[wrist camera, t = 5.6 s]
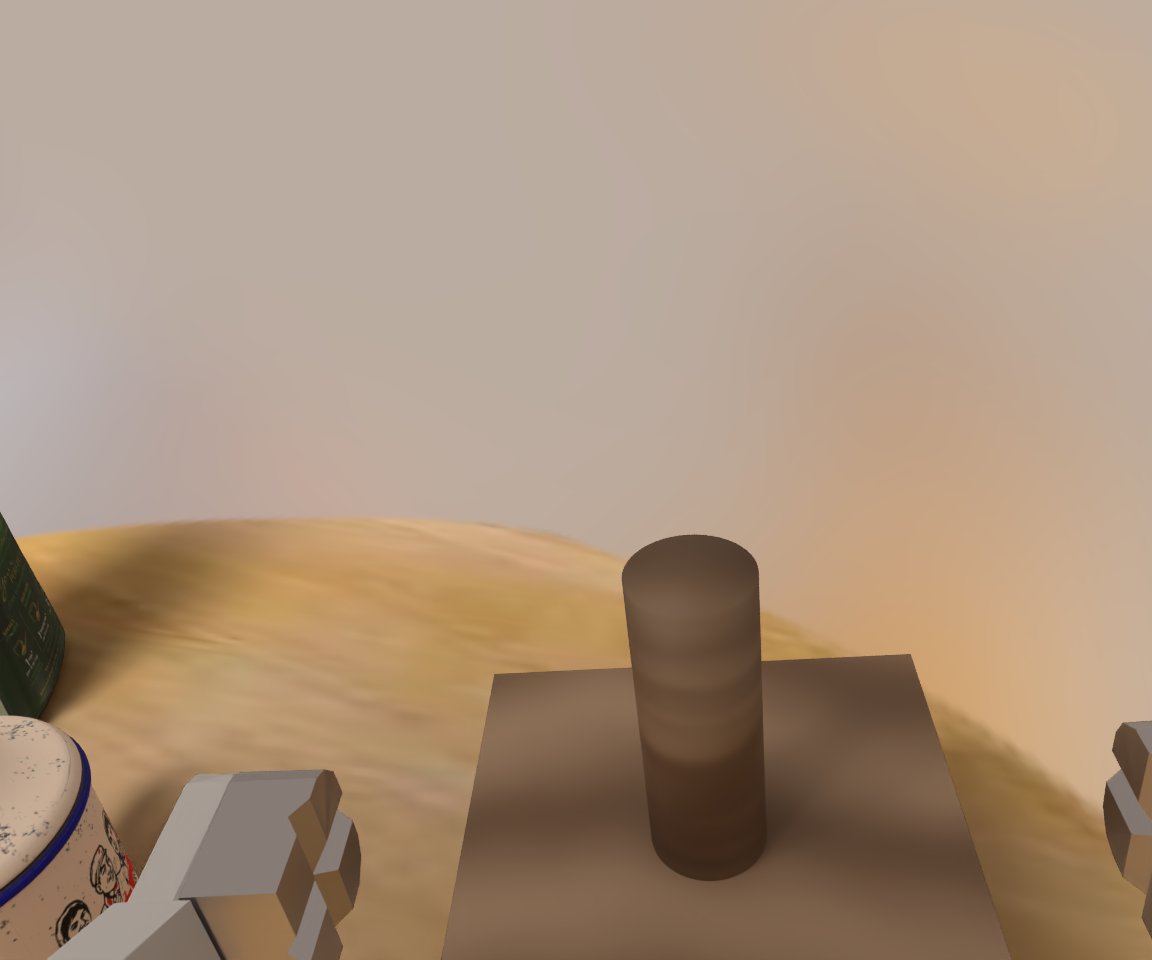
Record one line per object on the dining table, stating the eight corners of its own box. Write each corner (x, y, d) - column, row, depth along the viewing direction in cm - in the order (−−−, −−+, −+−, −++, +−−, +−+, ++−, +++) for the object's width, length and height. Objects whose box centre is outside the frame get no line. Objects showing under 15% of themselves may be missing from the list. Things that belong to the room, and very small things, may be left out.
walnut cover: (1015, 1261, 26) (1119, 796, 17) (474, 1253, 28) (322, 821, 19) (899, 819, 38) (926, 412, 29) (526, 830, 39) (448, 448, 31)
